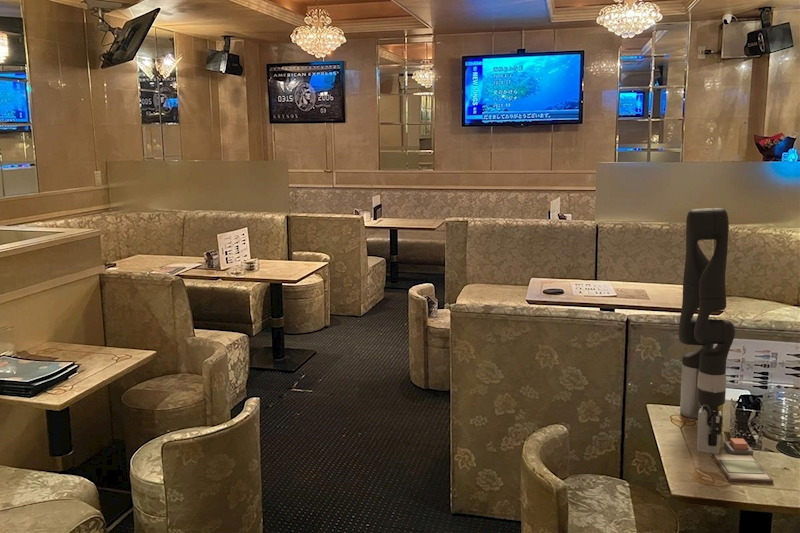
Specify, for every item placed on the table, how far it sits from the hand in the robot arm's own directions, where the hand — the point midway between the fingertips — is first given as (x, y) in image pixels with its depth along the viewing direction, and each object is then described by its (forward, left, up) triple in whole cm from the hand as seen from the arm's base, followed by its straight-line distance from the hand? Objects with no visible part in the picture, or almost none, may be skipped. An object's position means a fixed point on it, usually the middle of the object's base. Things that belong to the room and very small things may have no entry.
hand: (708, 440), depth 196 cm
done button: (+1, +8, -1) cm, 8 cm away
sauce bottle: (-14, +5, -3) cm, 15 cm away
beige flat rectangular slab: (+12, +5, -3) cm, 13 cm away
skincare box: (0, 0, -3) cm, 3 cm away
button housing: (+1, +8, -3) cm, 9 cm away
